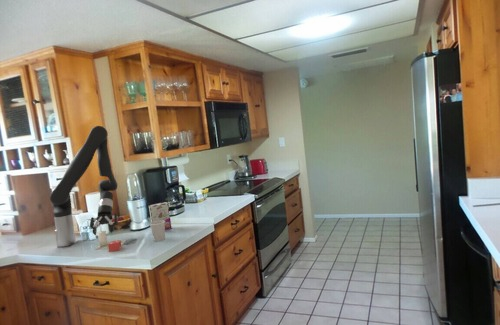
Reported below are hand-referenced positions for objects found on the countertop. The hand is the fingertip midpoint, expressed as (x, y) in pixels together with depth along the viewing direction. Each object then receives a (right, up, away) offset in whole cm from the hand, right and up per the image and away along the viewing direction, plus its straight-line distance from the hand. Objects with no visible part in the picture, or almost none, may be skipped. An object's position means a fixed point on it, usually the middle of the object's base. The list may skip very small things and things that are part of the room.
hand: (103, 233), depth 184 cm
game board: (+8, -7, 0) cm, 10 cm away
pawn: (+1, -7, -1) cm, 7 cm away
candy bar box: (+26, -3, +24) cm, 35 cm away
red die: (+11, -7, -10) cm, 16 cm away
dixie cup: (+30, -5, +4) cm, 30 cm away
